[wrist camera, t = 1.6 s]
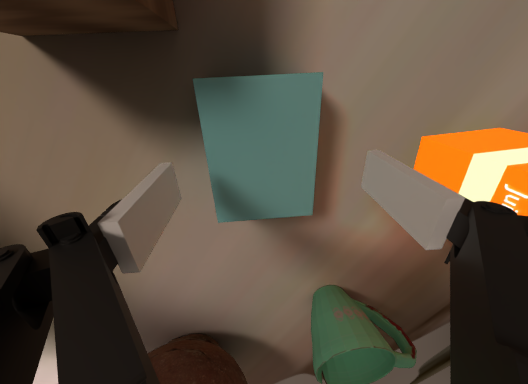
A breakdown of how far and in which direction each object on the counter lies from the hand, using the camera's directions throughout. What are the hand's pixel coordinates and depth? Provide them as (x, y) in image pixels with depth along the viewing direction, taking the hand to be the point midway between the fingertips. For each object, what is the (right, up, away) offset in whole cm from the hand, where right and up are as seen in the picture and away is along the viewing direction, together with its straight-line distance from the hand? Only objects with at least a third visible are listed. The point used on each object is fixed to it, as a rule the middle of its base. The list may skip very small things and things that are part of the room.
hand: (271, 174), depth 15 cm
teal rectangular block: (-1, +4, +7) cm, 8 cm away
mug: (+12, -18, +20) cm, 30 cm away
